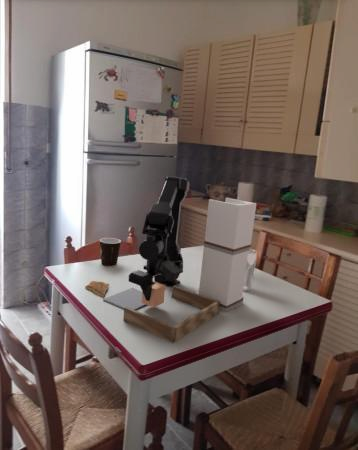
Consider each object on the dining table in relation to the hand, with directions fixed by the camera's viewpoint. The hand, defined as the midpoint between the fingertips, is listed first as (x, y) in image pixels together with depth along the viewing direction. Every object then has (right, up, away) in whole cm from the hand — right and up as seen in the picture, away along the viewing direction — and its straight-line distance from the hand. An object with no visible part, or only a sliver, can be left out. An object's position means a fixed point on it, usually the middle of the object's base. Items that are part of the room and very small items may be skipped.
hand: (153, 298), depth 119 cm
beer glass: (+33, -1, +25) cm, 41 cm away
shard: (-19, 0, +12) cm, 22 cm away
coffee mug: (-21, +6, +37) cm, 43 cm away
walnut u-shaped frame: (+6, -5, -4) cm, 9 cm away
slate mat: (-8, -2, +5) cm, 9 cm away
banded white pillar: (+22, -3, +11) cm, 25 cm away
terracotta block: (0, -2, 0) cm, 2 cm away
